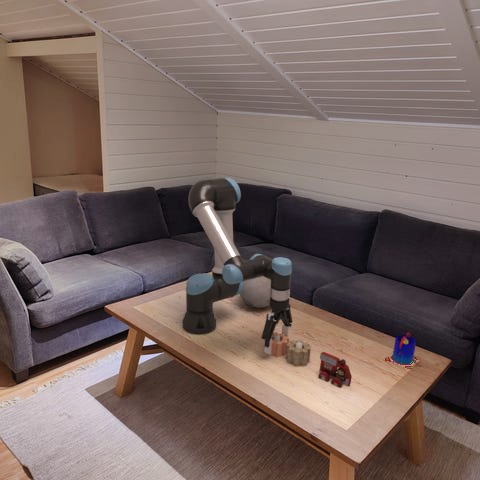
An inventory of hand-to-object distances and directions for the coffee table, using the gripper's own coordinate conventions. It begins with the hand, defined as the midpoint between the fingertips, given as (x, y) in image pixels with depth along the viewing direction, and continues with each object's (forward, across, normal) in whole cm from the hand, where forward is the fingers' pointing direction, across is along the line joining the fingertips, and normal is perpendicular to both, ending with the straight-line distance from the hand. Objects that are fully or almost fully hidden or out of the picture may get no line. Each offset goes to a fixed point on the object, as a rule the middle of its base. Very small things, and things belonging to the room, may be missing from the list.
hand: (276, 346), depth 177 cm
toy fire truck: (+4, -2, -26) cm, 27 cm away
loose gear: (+2, 0, 0) cm, 2 cm away
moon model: (+4, +31, +30) cm, 44 cm away
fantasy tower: (+4, +29, -42) cm, 51 cm away
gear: (+2, 0, -10) cm, 10 cm away
